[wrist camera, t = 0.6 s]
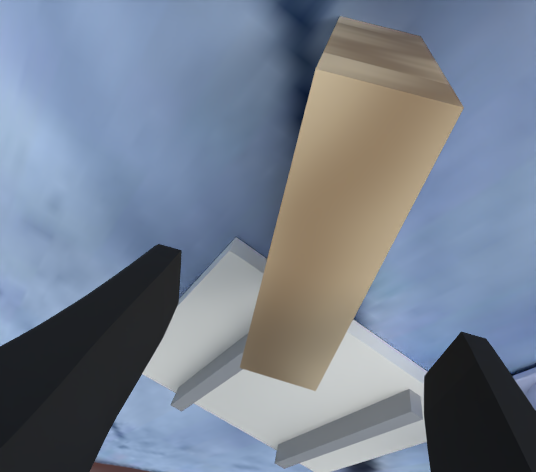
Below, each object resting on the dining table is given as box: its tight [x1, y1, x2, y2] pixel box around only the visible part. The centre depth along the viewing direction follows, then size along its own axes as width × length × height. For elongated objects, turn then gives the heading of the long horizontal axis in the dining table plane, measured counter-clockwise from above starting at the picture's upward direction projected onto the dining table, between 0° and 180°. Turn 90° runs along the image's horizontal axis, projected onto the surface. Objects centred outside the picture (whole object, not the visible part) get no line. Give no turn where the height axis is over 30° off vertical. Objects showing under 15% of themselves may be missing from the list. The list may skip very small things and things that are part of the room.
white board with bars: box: [142, 237, 427, 472], centre depth 27 cm, size 20×16×3 cm
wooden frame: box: [240, 16, 464, 391], centre depth 14 cm, size 3×11×8 cm, turn 169°
